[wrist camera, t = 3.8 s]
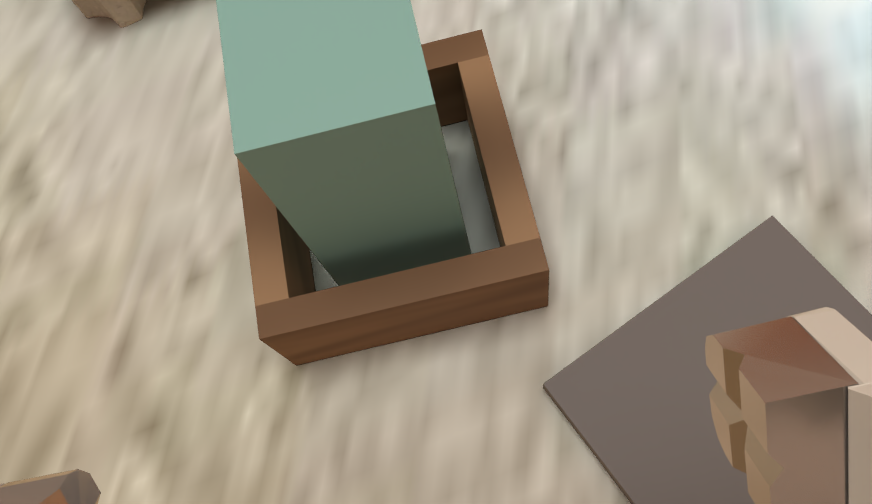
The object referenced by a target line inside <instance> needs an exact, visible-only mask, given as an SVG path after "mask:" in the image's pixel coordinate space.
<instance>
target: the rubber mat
mask: <svg viewBox="0 0 872 504" xmlns="http://www.w3.org/2000/svg"><path fill="white" fill-rule="evenodd" d="M823 307H829V308H832V309H835V310H836V311H838V312H839V313H840V314H841V315H842V316H843V317H844V318H846V319H847V320H848V321H849V322H850V323H851V324H852V325H854V326H855V327H856V328H857V329H858V330H859V331H861V332H862V333H863V334H864V335H865V336H866V337H867V338H869V339H870V340H871V341H872V315H871V314H870V313H869V312H868V311H867V310H866V309H865V308H864V307H863V306H862V305H861V304H860V303H859V302H858V301H857V300H856V299H855V298H854V297H853V296H852V295H851V294H850V293H849V292H848V291H847V290H846V289H845V288H844V287H843V286H842V285H841V284H840V283H839V282H838V281H837V280H836V279H835V278H834V277H833V276H832V275H831V274H830V273H829V272H828V271H827V270H826V269H825V268H824V267H823V266H822V265H821V264H820V263H819V262H818V261H817V260H816V259H815V258H814V257H813V256H812V255H811V254H810V253H809V252H808V251H807V250H806V249H805V248H804V247H803V246H802V245H801V244H800V243H799V242H798V241H797V240H796V239H795V238H794V237H793V236H792V235H791V234H790V233H789V232H788V231H787V230H786V229H785V228H784V227H783V226H782V225H781V224H780V223H779V222H778V221H777V220H776V219H775V218H774V217H773V216H771V217H770V218H768V219H767V220H766V221H764V222H763V223H762V224H760V225H759V226H758V227H756V228H755V229H753V230H752V231H751V232H749V233H748V234H747V235H745V236H744V237H743V238H741V239H740V240H738V241H737V242H736V243H734V244H733V245H732V246H730V247H729V248H728V249H726V250H725V251H724V252H722V253H721V254H719V255H718V256H717V257H715V258H714V259H713V260H711V261H710V262H709V263H707V264H706V265H704V266H703V267H702V268H700V269H699V270H698V271H696V272H695V273H694V274H692V275H691V276H689V277H688V278H687V279H685V280H684V281H683V282H681V283H680V284H679V285H677V286H676V287H674V288H673V289H672V290H670V291H669V292H668V293H666V294H665V295H664V296H662V297H661V298H660V299H658V300H657V301H655V302H654V303H653V304H651V305H650V306H649V307H647V308H646V309H645V310H643V311H642V312H640V313H639V314H638V315H636V316H635V317H634V318H632V319H631V320H630V321H628V322H627V323H625V324H624V325H623V326H621V327H620V328H619V329H617V330H616V331H615V332H613V333H612V334H610V335H609V336H608V337H606V338H605V339H604V340H602V341H601V342H600V343H598V344H597V345H595V346H594V347H593V348H591V349H590V350H589V351H587V352H586V353H585V354H583V355H582V356H581V357H579V358H578V359H576V360H575V361H574V362H572V363H571V364H570V365H568V366H567V367H566V368H564V369H563V370H561V371H560V372H559V373H557V374H556V375H555V376H553V377H552V378H551V379H549V380H548V381H546V382H545V383H544V384H543V388H544V389H545V391H546V392H547V393H548V395H549V396H550V397H551V398H552V400H553V401H554V402H555V404H556V405H557V406H558V408H559V409H560V410H561V412H562V413H563V414H564V415H565V417H566V418H567V419H568V421H569V422H570V423H571V425H572V426H573V427H574V429H575V430H576V431H577V433H578V434H579V435H580V436H581V438H582V439H583V440H584V442H585V443H586V444H587V446H588V447H589V448H590V450H591V451H592V452H593V453H594V455H595V456H596V457H597V459H598V460H599V461H600V463H601V464H602V465H603V467H604V468H605V469H606V471H607V472H608V473H609V474H610V476H611V477H612V478H613V480H614V481H615V482H616V484H617V485H618V486H619V488H620V489H621V490H622V492H623V493H624V494H625V495H626V497H627V498H628V499H629V501H630V502H631V503H632V504H755V503H754V501H753V499H752V498H751V496H750V495H749V493H748V485H747V474H746V473H744V472H742V471H740V470H738V469H736V468H734V467H732V465H731V463H730V461H729V460H728V458H727V456H726V455H725V453H724V451H723V448H722V446H721V444H720V442H719V439H718V437H717V433H716V429H715V426H714V422H713V418H712V412H711V404H710V397H709V394H710V392H711V391H712V389H713V387H714V386H715V384H716V383H717V380H716V378H715V377H714V375H713V374H712V372H711V371H710V369H709V368H708V366H707V365H706V354H705V343H706V336H709V335H713V334H718V333H722V332H726V331H730V330H735V329H739V328H743V327H747V326H752V325H756V324H760V323H764V322H769V321H773V320H777V319H781V318H786V317H788V316H792V315H795V314H799V313H803V312H807V311H811V310H815V309H819V308H823Z"/></svg>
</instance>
